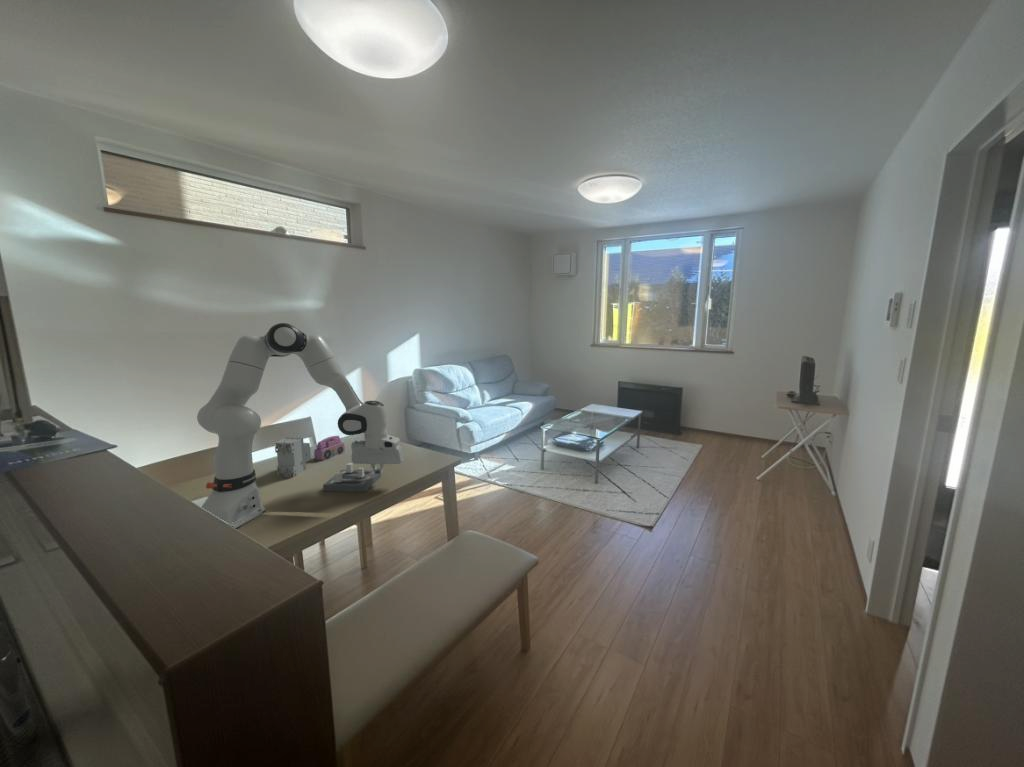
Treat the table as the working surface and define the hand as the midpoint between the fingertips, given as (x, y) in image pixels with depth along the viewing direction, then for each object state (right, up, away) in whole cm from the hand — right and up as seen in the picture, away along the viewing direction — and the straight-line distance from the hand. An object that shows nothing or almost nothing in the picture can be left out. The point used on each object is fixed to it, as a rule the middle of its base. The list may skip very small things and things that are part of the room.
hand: (378, 473), depth 167 cm
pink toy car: (-33, +1, +34) cm, 47 cm away
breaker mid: (-7, -1, 0) cm, 7 cm away
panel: (-11, -4, +1) cm, 11 cm away
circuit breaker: (-41, -2, +14) cm, 43 cm away
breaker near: (-14, -2, -5) cm, 15 cm away
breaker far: (-14, -1, +5) cm, 15 cm away
